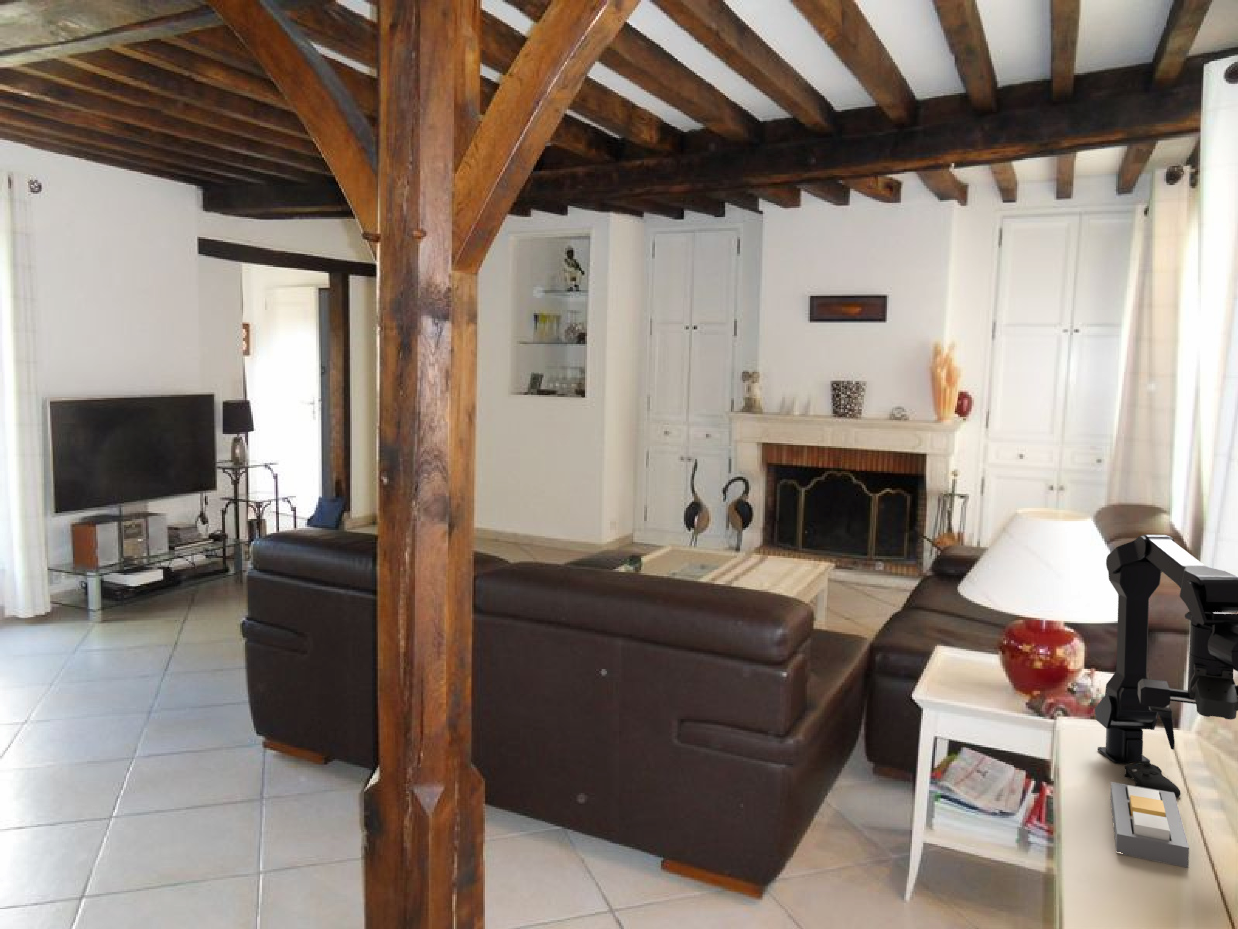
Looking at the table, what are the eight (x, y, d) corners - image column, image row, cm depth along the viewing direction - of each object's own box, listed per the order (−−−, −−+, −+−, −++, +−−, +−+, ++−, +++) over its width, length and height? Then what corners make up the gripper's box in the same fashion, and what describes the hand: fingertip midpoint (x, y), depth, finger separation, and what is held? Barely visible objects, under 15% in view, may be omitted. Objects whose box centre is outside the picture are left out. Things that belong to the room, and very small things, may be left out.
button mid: (1129, 807, 138) (1130, 795, 138) (1162, 812, 136) (1162, 800, 136) (1131, 819, 134) (1132, 807, 134) (1164, 825, 132) (1165, 812, 132)
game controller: (1185, 795, 146) (1158, 769, 146) (1159, 815, 147) (1133, 789, 147) (1162, 770, 155) (1137, 746, 156) (1138, 789, 156) (1113, 764, 157)
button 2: (1132, 824, 133) (1132, 811, 133) (1166, 830, 131) (1166, 817, 131) (1134, 837, 129) (1134, 824, 129) (1169, 844, 127) (1169, 830, 127)
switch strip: (1110, 799, 146) (1111, 782, 146) (1173, 810, 142) (1174, 792, 142) (1116, 853, 129) (1117, 834, 129) (1188, 867, 125) (1189, 847, 125)
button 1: (1126, 797, 144) (1127, 785, 144) (1158, 802, 142) (1158, 790, 142) (1128, 808, 140) (1129, 796, 140) (1160, 814, 138) (1161, 802, 138)
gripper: (1145, 662, 131) (1141, 762, 132) (1299, 679, 122) (1294, 786, 124) (1139, 643, 141) (1135, 736, 142) (1281, 657, 132) (1276, 757, 133)
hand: (1207, 753), depth 135 cm, fingers open, 9 cm apart
